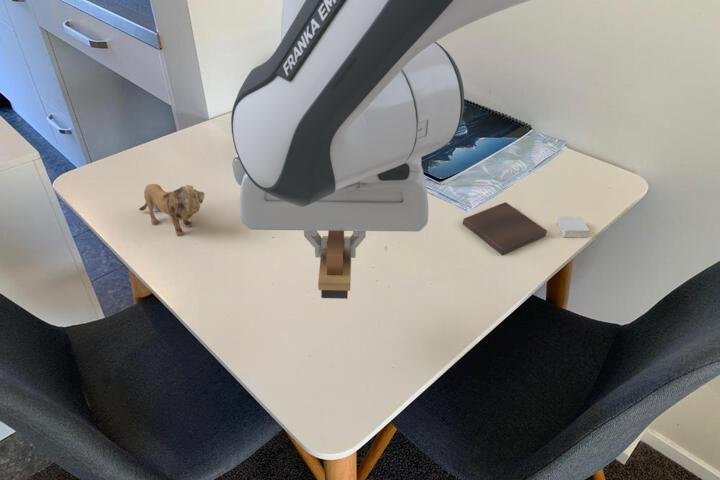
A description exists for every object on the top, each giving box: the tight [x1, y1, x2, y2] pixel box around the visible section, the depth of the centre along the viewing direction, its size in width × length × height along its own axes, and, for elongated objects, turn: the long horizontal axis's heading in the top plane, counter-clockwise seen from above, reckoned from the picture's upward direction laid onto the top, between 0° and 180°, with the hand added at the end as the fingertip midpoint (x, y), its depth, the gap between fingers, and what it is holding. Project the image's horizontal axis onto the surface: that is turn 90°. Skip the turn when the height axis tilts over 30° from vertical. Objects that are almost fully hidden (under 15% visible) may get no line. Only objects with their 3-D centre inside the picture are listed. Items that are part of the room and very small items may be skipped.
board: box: [462, 201, 548, 256], centre depth 90 cm, size 10×10×1 cm
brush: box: [317, 231, 352, 300], centre depth 61 cm, size 8×4×6 cm, turn 0°
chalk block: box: [556, 216, 590, 238], centre depth 90 cm, size 4×4×2 cm
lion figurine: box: [138, 183, 205, 237], centre depth 88 cm, size 15×5×9 cm, turn 65°
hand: (336, 254), depth 61 cm, fingers closed on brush, 2 cm apart
